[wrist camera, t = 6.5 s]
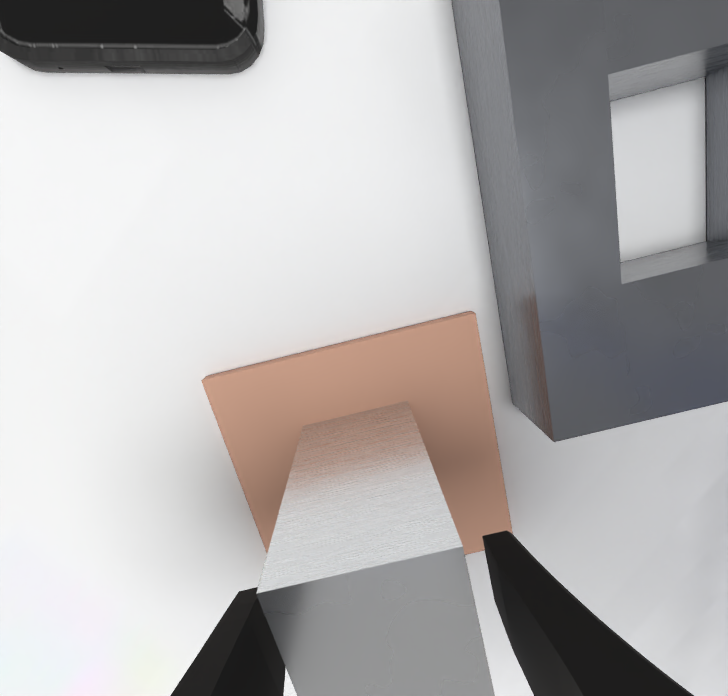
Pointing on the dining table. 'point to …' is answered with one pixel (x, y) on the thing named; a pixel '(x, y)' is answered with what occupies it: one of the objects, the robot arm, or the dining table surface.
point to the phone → (133, 35)
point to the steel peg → (371, 567)
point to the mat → (365, 392)
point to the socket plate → (594, 207)
